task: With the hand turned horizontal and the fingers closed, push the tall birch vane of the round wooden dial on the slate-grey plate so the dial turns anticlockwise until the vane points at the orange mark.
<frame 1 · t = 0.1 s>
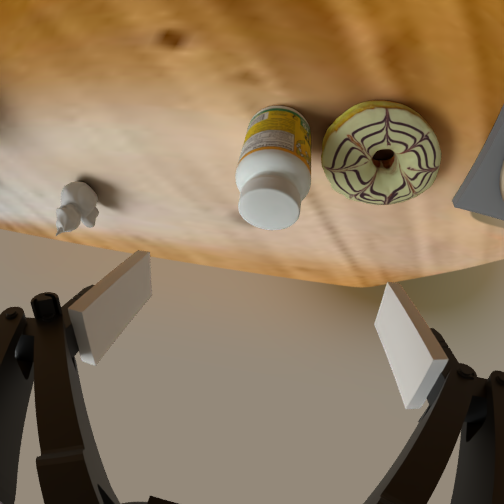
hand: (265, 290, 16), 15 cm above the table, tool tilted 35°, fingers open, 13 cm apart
supplement bottle: (280, 128, 24), on the table
white animal figurine: (88, 190, 34), on the table
decorated donut: (378, 143, 24), on the table
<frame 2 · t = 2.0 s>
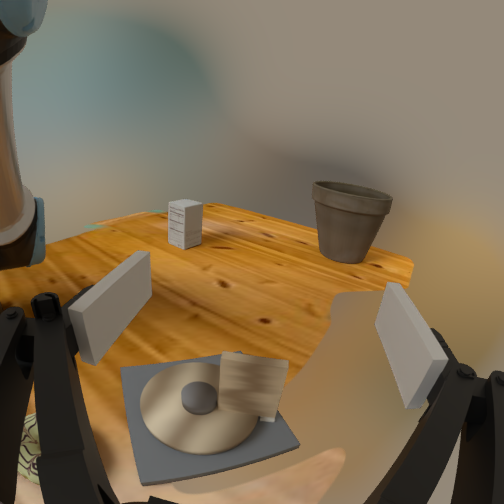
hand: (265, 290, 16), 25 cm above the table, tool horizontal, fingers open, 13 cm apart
dial: (207, 383, 32), point 6 cm above the table, hinge at 0.0°
plant pot: (340, 255, 93), on the table
dial plate: (199, 412, 34), on the table
supplement box: (184, 244, 88), on the table
decorated donut: (55, 458, 22), on the table
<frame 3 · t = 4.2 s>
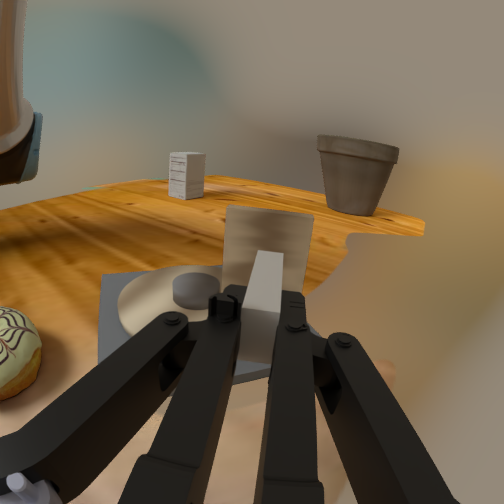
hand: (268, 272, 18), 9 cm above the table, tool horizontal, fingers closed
dial: (207, 260, 26), point 6 cm above the table, hinge at 0.0°
plant pot: (348, 210, 88), on the table
dial plate: (196, 317, 29), on the table
supplement box: (185, 197, 83), on the table
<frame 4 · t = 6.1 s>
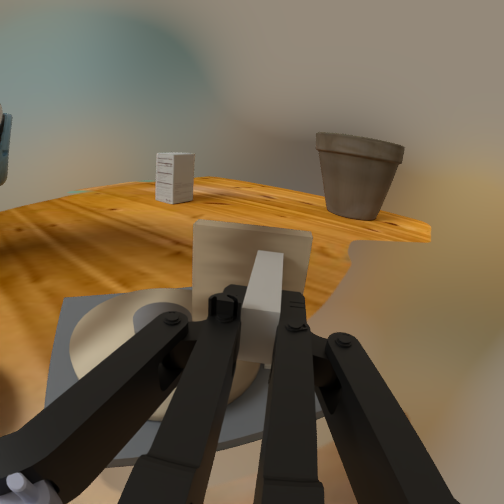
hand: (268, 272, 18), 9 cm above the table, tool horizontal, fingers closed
dial: (173, 290, 20), point 6 cm above the table, hinge at 1.1°, touching gripper
plant pot: (350, 214, 82), on the table
dial plate: (165, 357, 22), on the table
supplement box: (173, 201, 76), on the table
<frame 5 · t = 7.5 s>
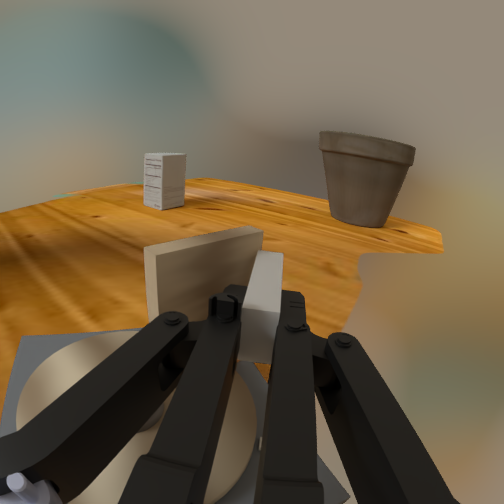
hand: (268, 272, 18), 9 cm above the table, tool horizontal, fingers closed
dial: (131, 348, 14), point 6 cm above the table, hinge at 51.8°, touching gripper
plant pot: (355, 220, 75), on the table
dial plate: (134, 426, 15), on the table
supplement box: (163, 206, 69), on the table
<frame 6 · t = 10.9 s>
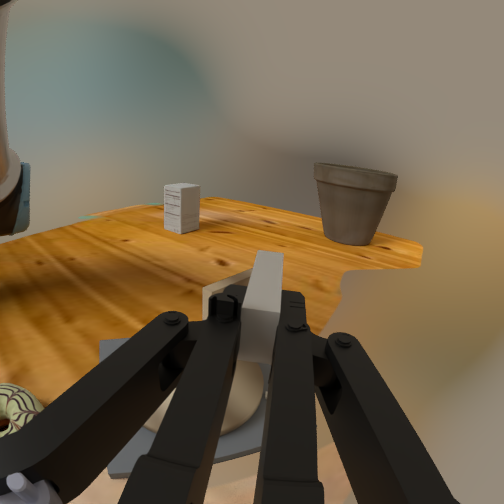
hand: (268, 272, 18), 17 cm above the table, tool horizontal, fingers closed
dial: (195, 340, 27), point 6 cm above the table, hinge at 56.1°
plant pot: (346, 238, 88), on the table
dial plate: (190, 390, 28), on the table
supplement box: (181, 229, 83), on the table
decorated donut: (13, 440, 16), on the table
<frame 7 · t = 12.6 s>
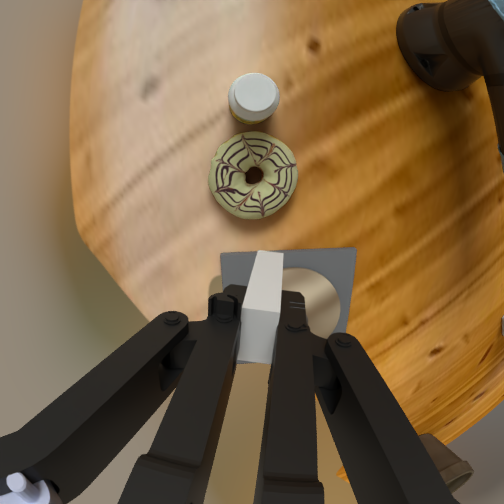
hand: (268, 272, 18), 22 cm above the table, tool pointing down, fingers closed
dial: (298, 338, 39), point 6 cm above the table, hinge at 56.1°
plant pot: (412, 446, 67), on the table
dial plate: (288, 309, 44), on the table
supplement bottle: (250, 104, 34), on the table
decorated donut: (251, 173, 38), on the table
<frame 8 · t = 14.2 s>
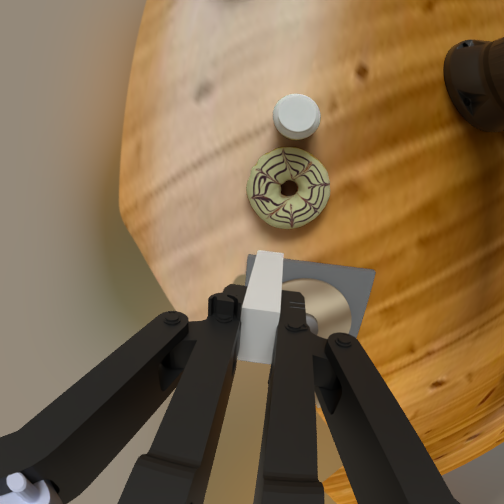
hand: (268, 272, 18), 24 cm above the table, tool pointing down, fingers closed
dial: (306, 345, 41), point 6 cm above the table, hinge at 56.1°
dial plate: (302, 317, 47), on the table
supplement bottle: (295, 121, 37), on the table
decorated donut: (288, 185, 40), on the table
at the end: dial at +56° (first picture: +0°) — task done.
